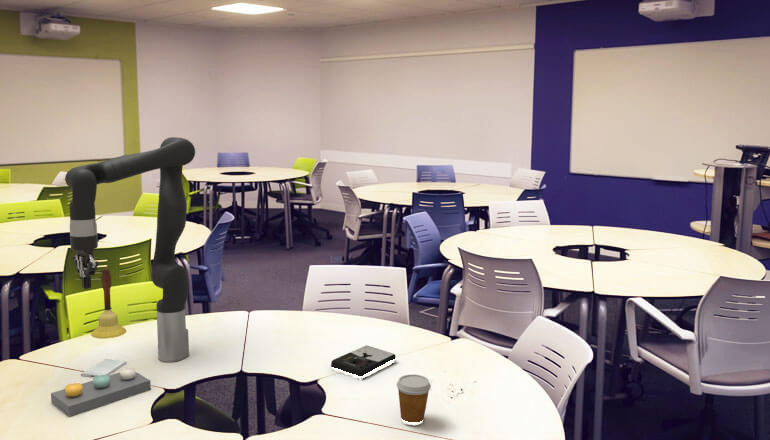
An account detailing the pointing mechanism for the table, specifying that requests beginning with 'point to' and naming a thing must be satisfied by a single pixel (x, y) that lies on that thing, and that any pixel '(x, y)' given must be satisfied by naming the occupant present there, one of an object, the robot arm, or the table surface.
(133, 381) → the console
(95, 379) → the teal button
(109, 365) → the hard drive
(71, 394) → the amber button
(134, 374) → the offwhite button
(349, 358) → the black and grey book
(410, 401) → the disposable coffee cup
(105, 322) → the handbell
